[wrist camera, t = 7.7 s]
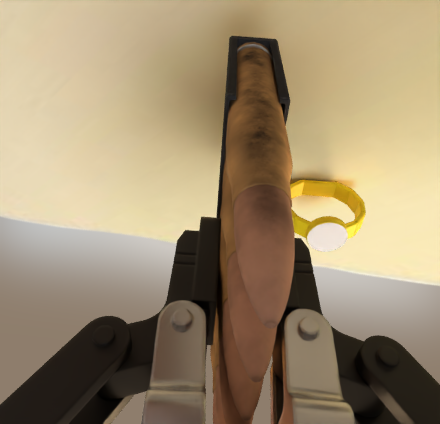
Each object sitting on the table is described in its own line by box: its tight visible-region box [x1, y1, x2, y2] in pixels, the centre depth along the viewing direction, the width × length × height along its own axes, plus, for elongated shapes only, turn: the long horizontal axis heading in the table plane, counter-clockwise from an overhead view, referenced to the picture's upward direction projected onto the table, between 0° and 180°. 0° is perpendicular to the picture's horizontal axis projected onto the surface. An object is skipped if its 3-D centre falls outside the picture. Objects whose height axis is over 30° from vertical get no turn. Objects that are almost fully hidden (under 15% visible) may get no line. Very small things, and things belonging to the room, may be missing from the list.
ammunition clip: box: [211, 36, 295, 424], centre depth 13 cm, size 11×2×12 cm, turn 177°
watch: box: [290, 180, 366, 252], centre depth 27 cm, size 6×3×6 cm, turn 89°
